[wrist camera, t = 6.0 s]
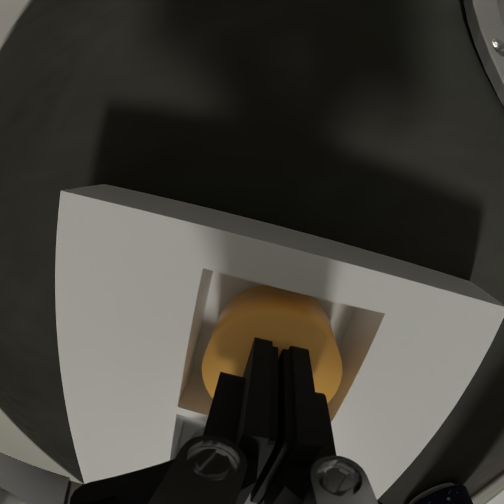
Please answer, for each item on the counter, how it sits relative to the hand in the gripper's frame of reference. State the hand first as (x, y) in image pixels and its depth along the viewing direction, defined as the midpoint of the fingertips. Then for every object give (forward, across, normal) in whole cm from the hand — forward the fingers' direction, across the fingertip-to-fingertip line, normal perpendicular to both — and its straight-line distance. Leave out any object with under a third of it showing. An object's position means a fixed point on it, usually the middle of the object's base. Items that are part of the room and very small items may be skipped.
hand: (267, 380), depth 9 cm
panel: (+4, 0, +6) cm, 7 cm away
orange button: (+3, 0, 0) cm, 3 cm away
